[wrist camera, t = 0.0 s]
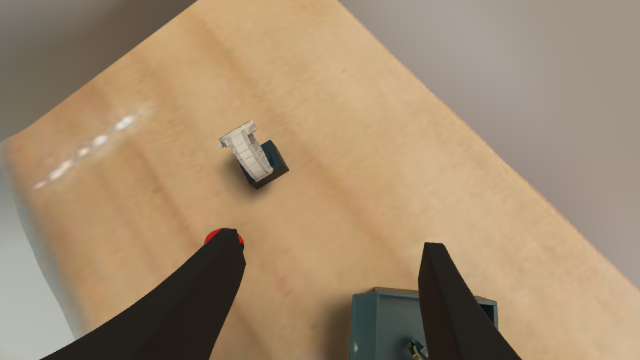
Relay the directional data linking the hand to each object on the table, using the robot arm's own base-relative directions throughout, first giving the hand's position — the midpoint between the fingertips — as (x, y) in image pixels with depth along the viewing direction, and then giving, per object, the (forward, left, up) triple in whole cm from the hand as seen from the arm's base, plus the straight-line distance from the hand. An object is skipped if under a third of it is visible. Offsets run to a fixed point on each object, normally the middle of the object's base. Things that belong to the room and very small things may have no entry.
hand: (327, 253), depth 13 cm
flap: (-11, -2, -23) cm, 25 cm away
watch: (+12, +14, -32) cm, 37 cm away
